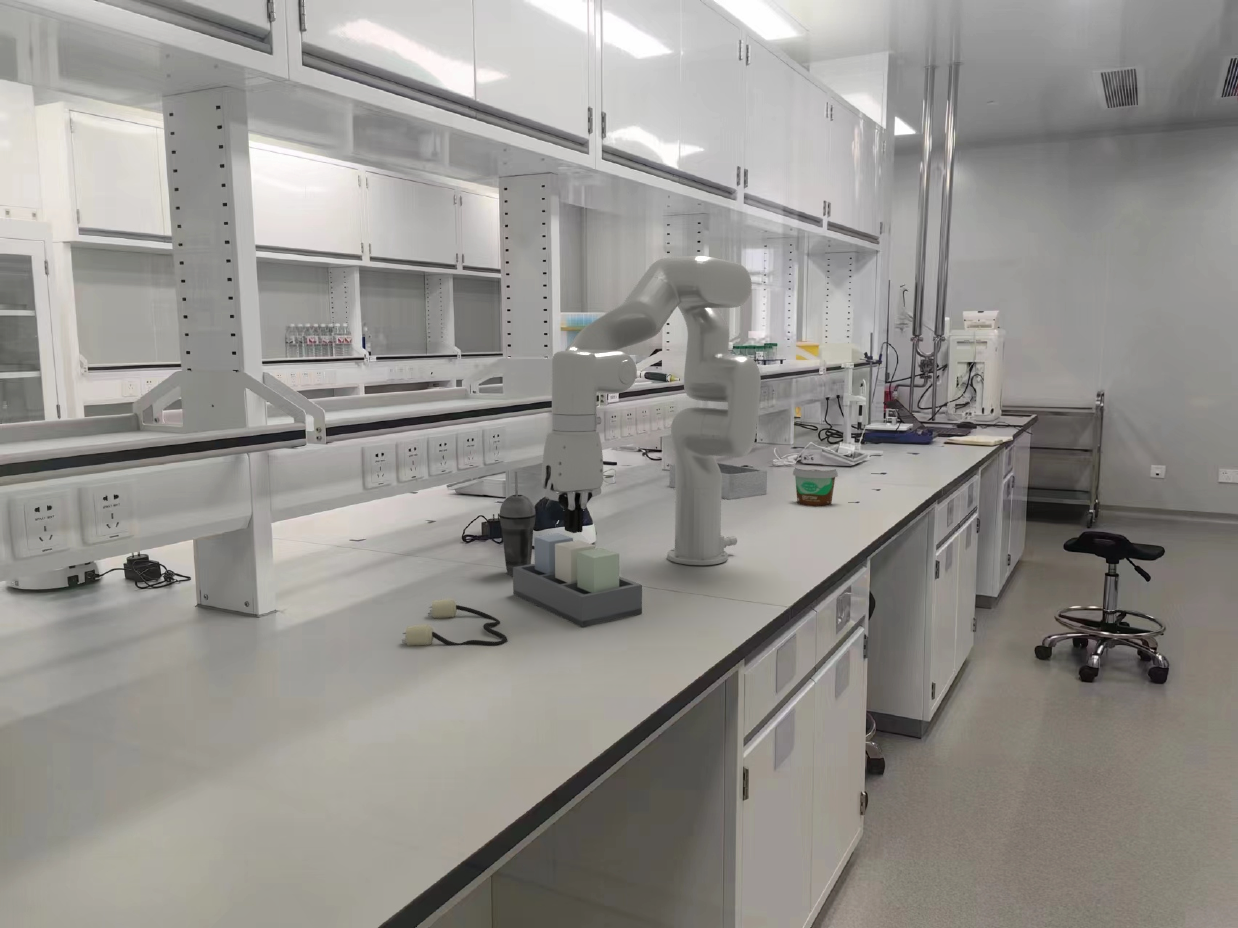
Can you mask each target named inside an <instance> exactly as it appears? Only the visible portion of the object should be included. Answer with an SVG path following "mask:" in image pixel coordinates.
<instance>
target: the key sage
mask: <svg viewBox="0 0 1238 928" xmlns="http://www.w3.org/2000/svg"><path fill="white" fill-rule="evenodd" d="M619 576H620V553H619V552H616V551H613V550H611V549H607V548H604V547H598V548H595V549H591V550H586V551H580V552H577V587H579V588H581V589H584V590H586V591H589V592H591V593H594V592H599V591H604V590H609V589H614V588H618V587H619Z"/></svg>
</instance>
